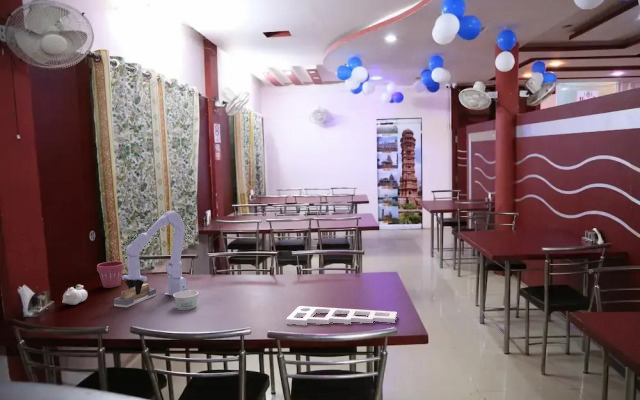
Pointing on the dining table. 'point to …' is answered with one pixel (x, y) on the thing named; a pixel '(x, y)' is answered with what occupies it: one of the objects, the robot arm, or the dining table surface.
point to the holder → (311, 311)
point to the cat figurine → (74, 295)
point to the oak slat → (132, 292)
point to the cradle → (131, 301)
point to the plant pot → (110, 273)
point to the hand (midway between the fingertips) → (135, 293)
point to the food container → (186, 299)
